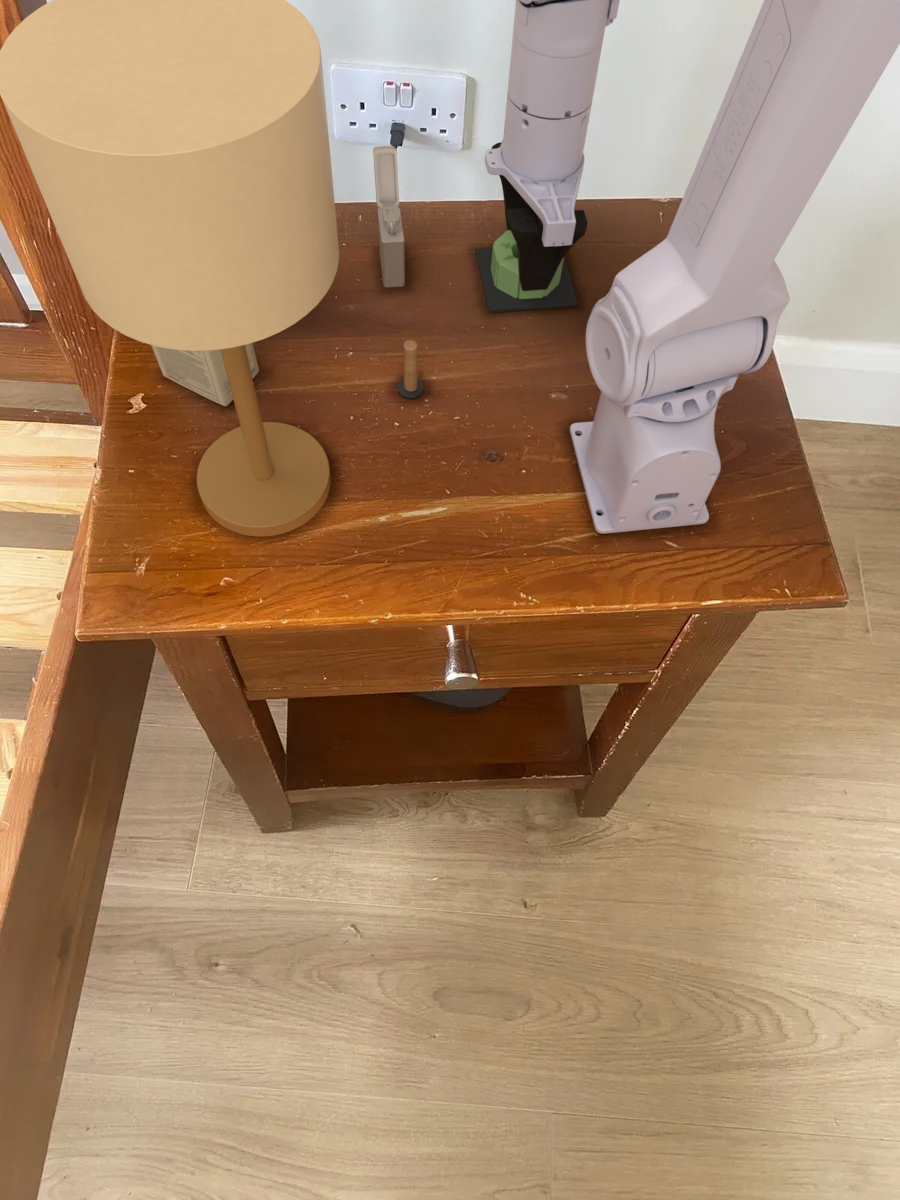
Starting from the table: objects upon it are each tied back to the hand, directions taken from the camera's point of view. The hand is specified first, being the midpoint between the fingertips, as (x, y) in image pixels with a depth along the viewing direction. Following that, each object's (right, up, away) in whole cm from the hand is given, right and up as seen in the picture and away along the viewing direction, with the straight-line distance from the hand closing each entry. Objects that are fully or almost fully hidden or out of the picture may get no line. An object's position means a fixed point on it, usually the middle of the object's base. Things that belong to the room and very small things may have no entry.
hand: (527, 261), depth 71 cm
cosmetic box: (-24, -10, -5) cm, 27 cm away
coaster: (0, -1, +2) cm, 2 cm away
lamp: (-19, -19, -9) cm, 29 cm away
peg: (-9, -11, -5) cm, 15 cm away
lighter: (-11, +1, +2) cm, 11 cm away
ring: (0, -1, +1) cm, 1 cm away
